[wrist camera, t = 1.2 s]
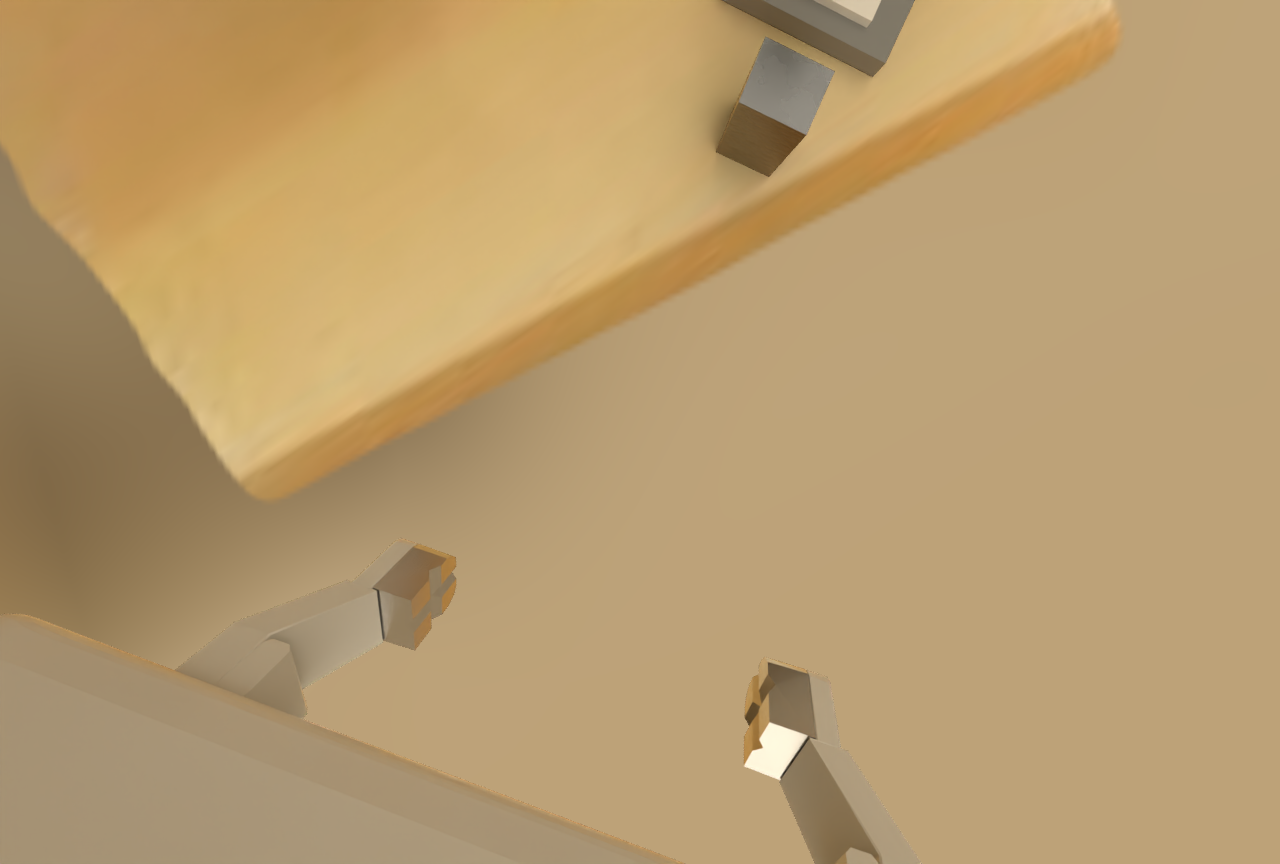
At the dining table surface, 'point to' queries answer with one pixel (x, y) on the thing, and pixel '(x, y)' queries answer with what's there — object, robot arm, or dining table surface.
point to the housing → (774, 107)
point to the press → (837, 26)
